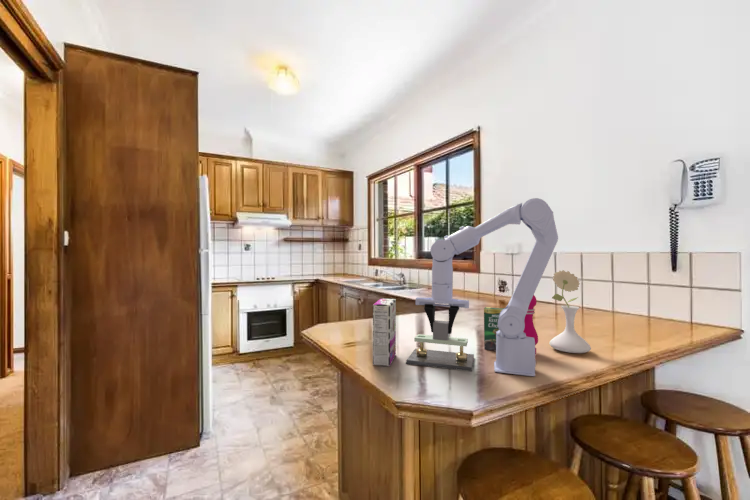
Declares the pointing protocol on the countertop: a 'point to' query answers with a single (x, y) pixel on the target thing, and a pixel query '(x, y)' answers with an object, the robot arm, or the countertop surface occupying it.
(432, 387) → the countertop surface
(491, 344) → the coffee box
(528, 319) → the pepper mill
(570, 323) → the flower in vase
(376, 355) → the candy bar box
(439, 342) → the board
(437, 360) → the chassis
